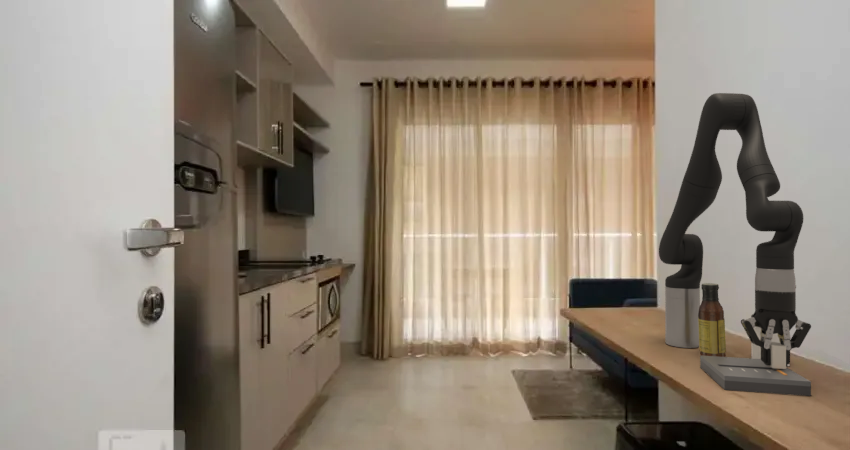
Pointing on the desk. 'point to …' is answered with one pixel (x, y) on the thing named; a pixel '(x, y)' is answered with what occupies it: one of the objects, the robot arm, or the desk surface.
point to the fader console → (753, 376)
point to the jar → (757, 349)
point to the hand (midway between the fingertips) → (775, 364)
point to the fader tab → (778, 356)
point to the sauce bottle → (711, 323)
